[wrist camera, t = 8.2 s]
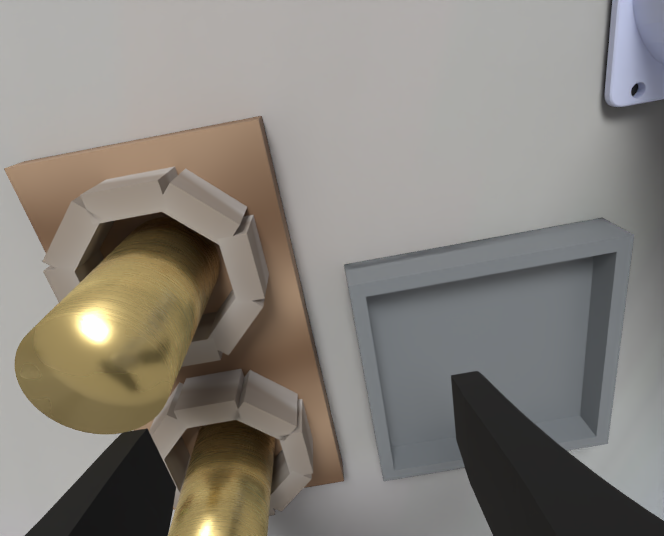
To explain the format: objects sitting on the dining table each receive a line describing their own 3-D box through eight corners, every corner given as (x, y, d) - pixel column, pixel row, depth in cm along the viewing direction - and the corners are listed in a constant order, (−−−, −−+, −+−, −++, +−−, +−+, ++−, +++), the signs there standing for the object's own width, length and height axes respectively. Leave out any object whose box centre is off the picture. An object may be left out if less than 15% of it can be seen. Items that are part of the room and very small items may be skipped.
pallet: (23, 161, 16) (-37, 183, 14) (261, 115, 16) (251, 127, 13) (179, 489, 24) (162, 547, 21) (342, 461, 24) (347, 517, 21)
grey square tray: (602, 217, 19) (634, 234, 17) (584, 414, 23) (607, 443, 21) (344, 264, 19) (348, 286, 17) (377, 449, 24) (383, 481, 22)
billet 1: (204, 208, 16) (139, 302, 10) (230, 293, 18) (189, 420, 11) (109, 227, 16) (-15, 330, 10) (144, 309, 18) (55, 444, 12)
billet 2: (277, 408, 20) (264, 563, 14) (273, 463, 22) (259, 627, 16) (198, 403, 20) (148, 561, 14) (199, 460, 22) (154, 626, 15)
